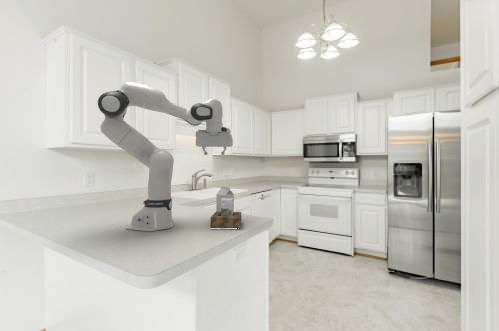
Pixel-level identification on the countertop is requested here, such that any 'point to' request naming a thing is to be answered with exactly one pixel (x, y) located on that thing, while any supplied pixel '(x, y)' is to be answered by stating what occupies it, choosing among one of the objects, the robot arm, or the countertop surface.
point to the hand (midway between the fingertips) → (214, 155)
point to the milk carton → (223, 193)
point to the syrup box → (227, 207)
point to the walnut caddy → (225, 220)
